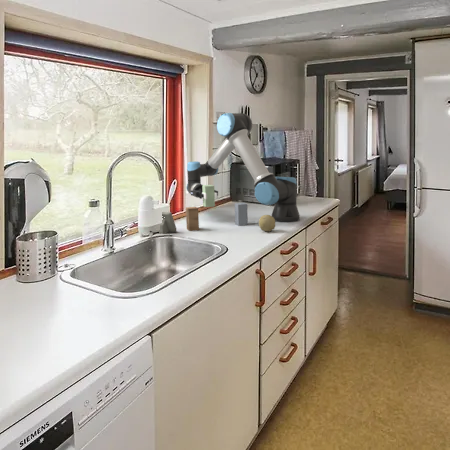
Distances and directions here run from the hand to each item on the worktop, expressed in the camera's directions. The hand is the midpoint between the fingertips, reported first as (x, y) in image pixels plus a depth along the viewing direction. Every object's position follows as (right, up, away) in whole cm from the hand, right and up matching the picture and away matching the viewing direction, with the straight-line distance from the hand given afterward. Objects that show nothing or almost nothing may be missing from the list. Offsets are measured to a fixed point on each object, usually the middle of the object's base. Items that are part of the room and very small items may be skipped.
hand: (211, 196), depth 229 cm
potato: (+27, -18, -17) cm, 37 cm away
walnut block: (-9, -17, -8) cm, 21 cm away
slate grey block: (+15, -15, 0) cm, 21 cm away
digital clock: (-24, -18, -10) cm, 32 cm away
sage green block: (-2, -5, +6) cm, 8 cm away
